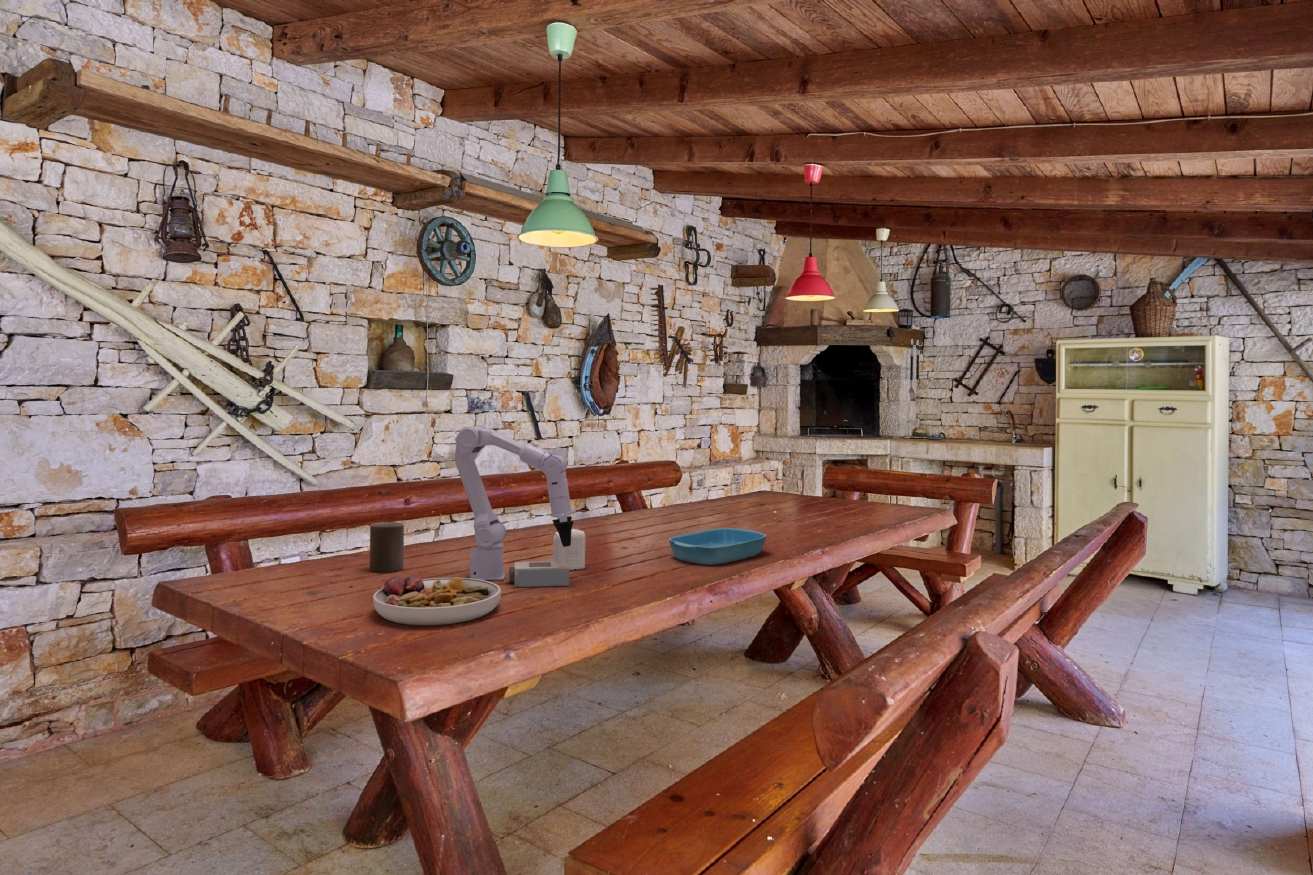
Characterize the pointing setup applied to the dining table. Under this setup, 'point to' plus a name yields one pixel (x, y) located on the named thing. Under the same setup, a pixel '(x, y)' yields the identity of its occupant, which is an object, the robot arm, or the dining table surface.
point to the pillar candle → (386, 547)
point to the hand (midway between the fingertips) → (566, 544)
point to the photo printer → (570, 551)
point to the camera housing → (531, 567)
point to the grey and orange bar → (542, 577)
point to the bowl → (435, 600)
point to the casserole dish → (717, 545)
